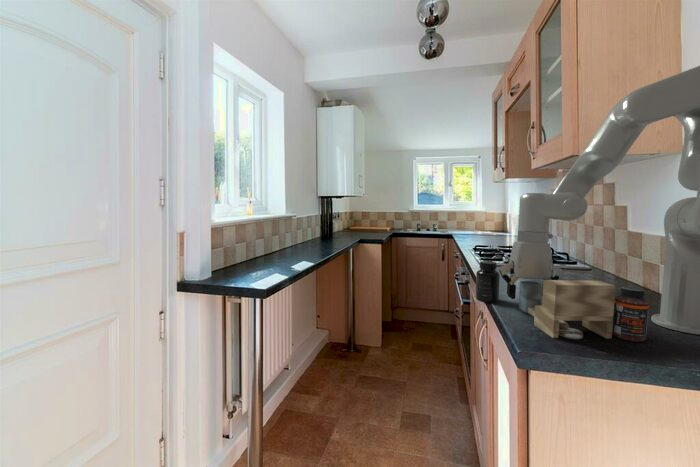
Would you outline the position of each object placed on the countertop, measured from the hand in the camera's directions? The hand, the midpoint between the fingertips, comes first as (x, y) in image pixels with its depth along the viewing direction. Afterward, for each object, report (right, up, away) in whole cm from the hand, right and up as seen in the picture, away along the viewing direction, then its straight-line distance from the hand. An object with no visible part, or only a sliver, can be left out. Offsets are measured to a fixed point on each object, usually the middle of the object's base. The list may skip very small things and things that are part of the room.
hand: (528, 298), depth 95 cm
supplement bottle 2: (+12, -5, -19) cm, 23 cm away
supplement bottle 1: (-8, -3, +10) cm, 13 cm away
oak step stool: (+2, -5, -16) cm, 17 cm away
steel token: (0, -5, -18) cm, 18 cm away
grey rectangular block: (0, -4, -6) cm, 7 cm away
